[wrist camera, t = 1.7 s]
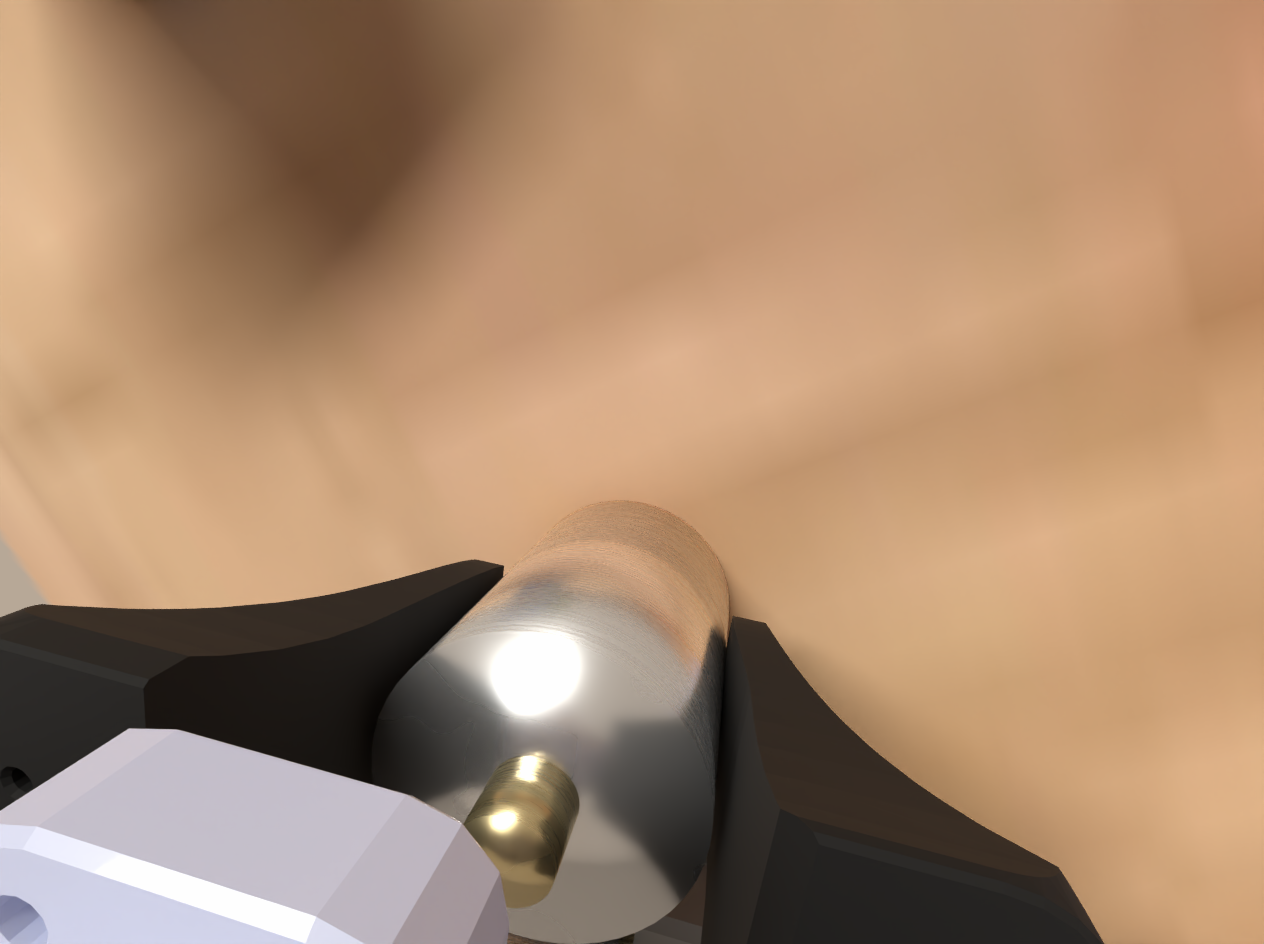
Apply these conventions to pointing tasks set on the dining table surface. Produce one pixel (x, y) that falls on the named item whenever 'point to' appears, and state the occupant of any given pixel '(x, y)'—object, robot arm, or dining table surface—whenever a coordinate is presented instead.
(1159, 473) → the dining table surface
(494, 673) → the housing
